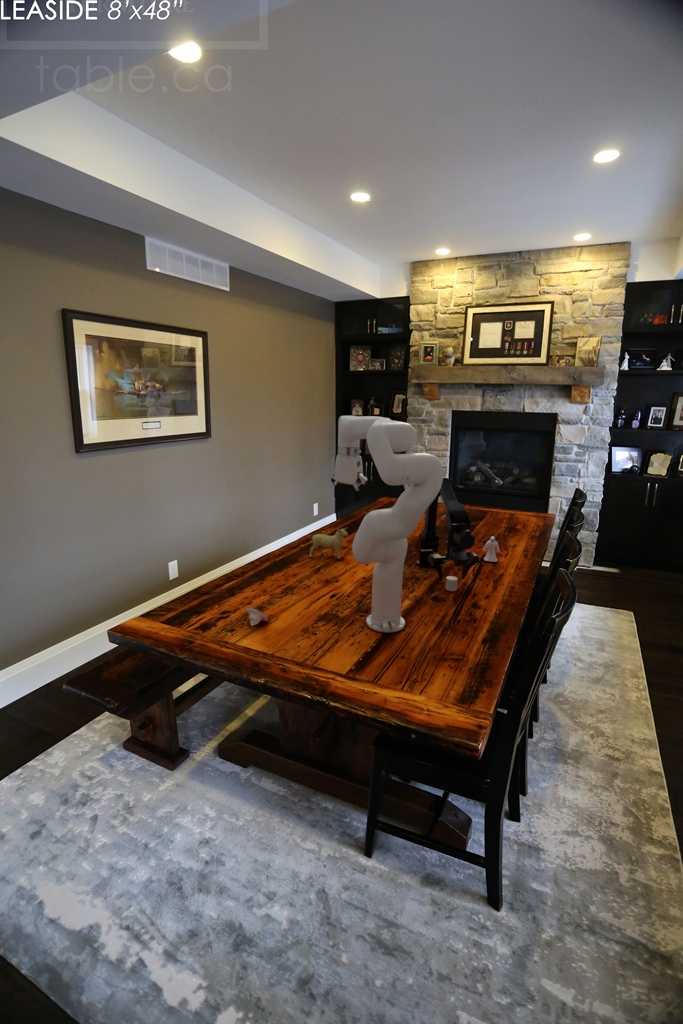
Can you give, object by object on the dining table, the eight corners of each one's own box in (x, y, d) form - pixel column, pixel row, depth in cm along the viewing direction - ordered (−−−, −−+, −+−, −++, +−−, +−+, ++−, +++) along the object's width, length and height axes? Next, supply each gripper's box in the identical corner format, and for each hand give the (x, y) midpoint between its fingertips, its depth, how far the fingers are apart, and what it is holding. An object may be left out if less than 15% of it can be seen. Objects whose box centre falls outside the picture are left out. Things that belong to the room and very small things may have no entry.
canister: (459, 589, 192) (460, 578, 191) (451, 592, 189) (452, 581, 188) (450, 586, 195) (451, 575, 194) (443, 588, 193) (443, 577, 191)
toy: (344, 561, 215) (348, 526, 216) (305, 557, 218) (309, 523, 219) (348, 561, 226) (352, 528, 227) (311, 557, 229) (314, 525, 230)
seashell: (251, 634, 162) (235, 615, 161) (262, 623, 165) (246, 604, 164) (262, 630, 156) (245, 610, 155) (273, 618, 159) (257, 599, 158)
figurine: (481, 562, 222) (483, 536, 219) (482, 556, 230) (484, 531, 227) (499, 564, 220) (501, 538, 217) (499, 558, 228) (501, 533, 225)
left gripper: (374, 453, 172) (372, 501, 176) (337, 448, 184) (337, 493, 188) (360, 455, 167) (359, 504, 171) (323, 450, 178) (323, 496, 182)
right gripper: (439, 548, 178) (437, 589, 182) (488, 546, 182) (484, 586, 186) (428, 539, 189) (426, 578, 192) (474, 537, 192) (471, 575, 196)
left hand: (347, 499), depth 179 cm, fingers open, 9 cm apart
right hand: (451, 579), depth 191 cm, fingers open, 9 cm apart
